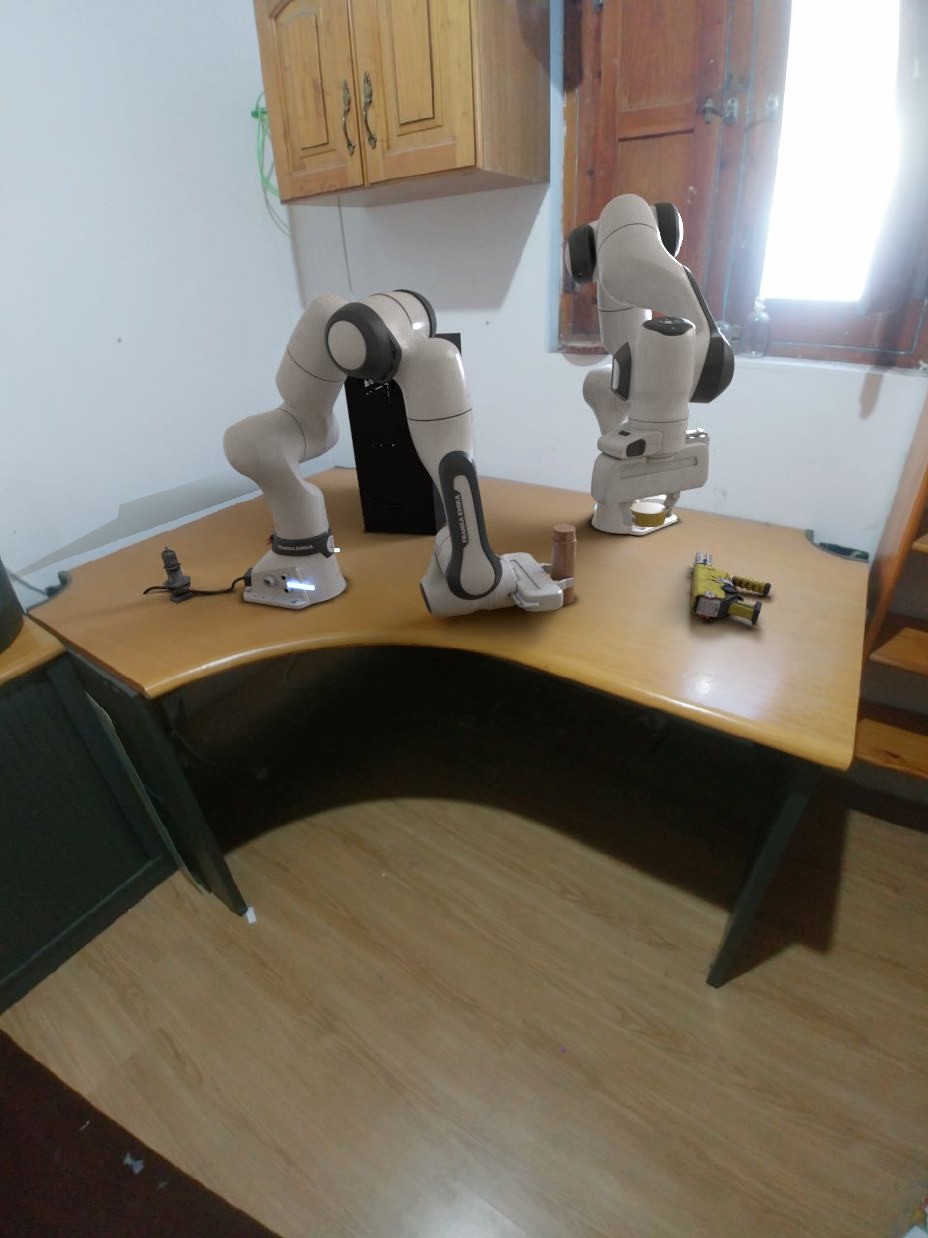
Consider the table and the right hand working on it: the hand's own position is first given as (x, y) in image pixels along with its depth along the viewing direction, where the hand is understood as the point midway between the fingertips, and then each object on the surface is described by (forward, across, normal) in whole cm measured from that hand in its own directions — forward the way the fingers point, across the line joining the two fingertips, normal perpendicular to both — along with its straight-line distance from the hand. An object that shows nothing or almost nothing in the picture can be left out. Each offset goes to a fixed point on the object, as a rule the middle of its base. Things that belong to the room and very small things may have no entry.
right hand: (646, 521), depth 100 cm
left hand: (+17, +3, -19) cm, 26 cm away
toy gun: (+23, -26, -4) cm, 35 cm away
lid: (-2, 0, 0) cm, 2 cm away
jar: (+23, +4, -19) cm, 30 cm away
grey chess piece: (+23, +79, -59) cm, 101 cm away
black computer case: (+23, +13, -86) cm, 90 cm away
